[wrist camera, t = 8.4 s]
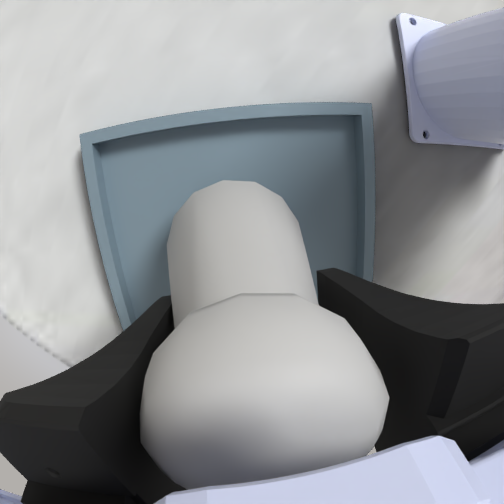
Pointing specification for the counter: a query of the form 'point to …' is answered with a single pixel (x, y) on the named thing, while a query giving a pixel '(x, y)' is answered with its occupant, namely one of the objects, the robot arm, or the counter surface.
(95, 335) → the counter surface
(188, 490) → the robot arm
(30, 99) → the counter surface
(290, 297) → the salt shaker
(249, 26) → the counter surface
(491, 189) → the counter surface
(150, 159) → the tray
